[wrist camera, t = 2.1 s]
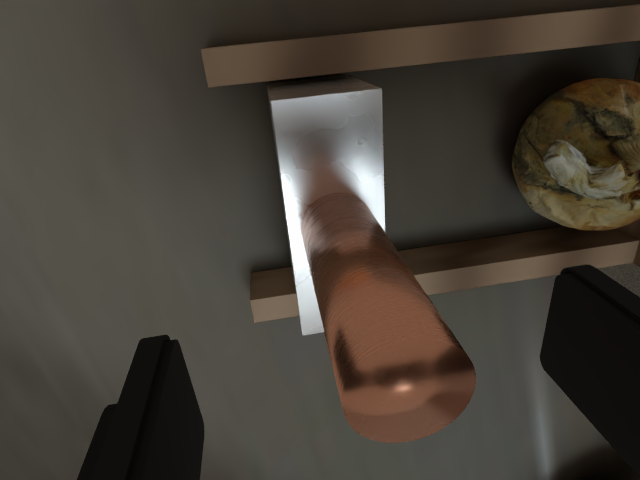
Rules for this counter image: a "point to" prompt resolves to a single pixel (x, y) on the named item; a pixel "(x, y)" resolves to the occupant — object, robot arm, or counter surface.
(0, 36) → the counter surface
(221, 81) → the press frame
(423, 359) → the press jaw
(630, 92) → the onion
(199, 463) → the robot arm
